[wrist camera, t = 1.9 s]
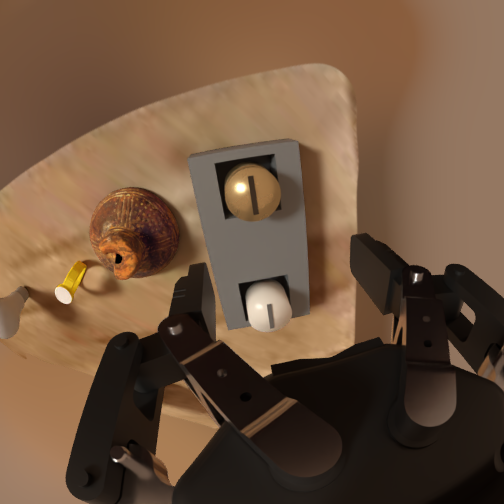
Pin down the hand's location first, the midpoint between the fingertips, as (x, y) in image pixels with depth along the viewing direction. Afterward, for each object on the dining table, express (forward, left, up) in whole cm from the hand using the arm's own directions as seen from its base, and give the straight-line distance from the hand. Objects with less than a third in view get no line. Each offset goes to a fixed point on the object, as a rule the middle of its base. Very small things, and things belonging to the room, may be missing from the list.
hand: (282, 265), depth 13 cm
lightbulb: (+15, +37, -20) cm, 45 cm away
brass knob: (0, 0, -17) cm, 17 cm away
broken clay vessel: (+5, +14, -20) cm, 25 cm away
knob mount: (-6, +4, -20) cm, 21 cm away
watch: (+8, +25, -20) cm, 33 cm away
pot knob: (-11, +8, -17) cm, 22 cm away
